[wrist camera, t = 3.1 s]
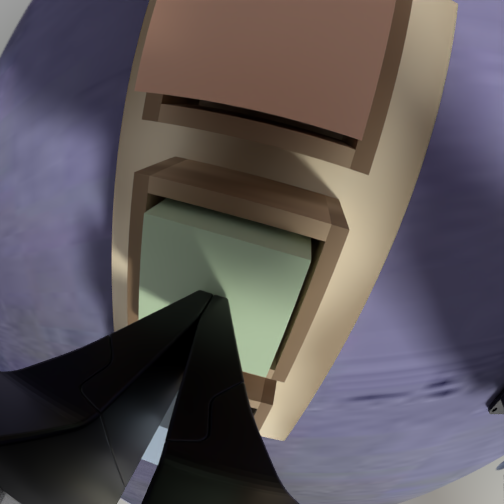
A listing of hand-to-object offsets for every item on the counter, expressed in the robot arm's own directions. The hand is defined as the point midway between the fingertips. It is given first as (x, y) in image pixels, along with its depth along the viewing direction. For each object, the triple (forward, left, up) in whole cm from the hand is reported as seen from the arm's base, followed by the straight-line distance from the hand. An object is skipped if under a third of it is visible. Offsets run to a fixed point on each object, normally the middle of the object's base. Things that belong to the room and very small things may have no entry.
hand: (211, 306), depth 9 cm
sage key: (0, 0, -3) cm, 3 cm away
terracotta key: (0, -7, -2) cm, 8 cm away
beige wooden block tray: (0, 0, -6) cm, 6 cm away
